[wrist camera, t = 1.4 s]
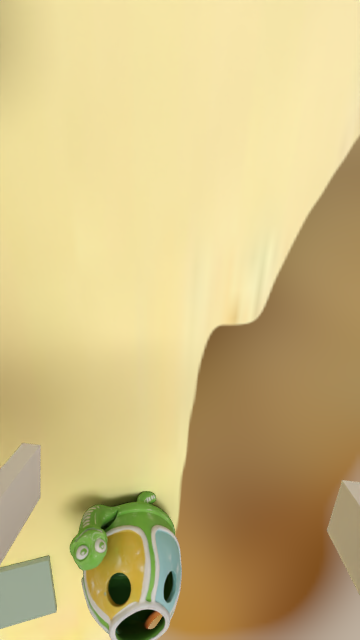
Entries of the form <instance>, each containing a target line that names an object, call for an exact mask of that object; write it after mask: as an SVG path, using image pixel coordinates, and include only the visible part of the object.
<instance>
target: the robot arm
mask: <svg viewBox="0 0 360 640" xmlns="http://www.w3.org/2000/svg"><path fill="white" fill-rule="evenodd" d="M39 499H40V445H36V444H27V443H22V444H21V445H20V447H19V448H18V449H17V450H16V451H15V452H14V454H13V455H12V456H11V457H10V458H9V459H8V461H7V462H6V463H5V464H4V465H3V466H2V467H1V469H0V564H1V562H2V561H3V559H4V557H5V556H6V554H7V552H8V551H9V549H10V547H11V546H12V544H13V542H14V541H15V539H16V537H17V536H18V534H19V532H20V531H21V529H22V527H23V526H24V524H25V522H26V521H27V519H28V517H29V516H30V514H31V512H32V510H33V509H34V507H35V505H36V504H37V502H38V500H39ZM327 532H328V534H329V536H330V538H331V539H332V542H333V544H334V545H335V547H336V549H337V551H338V553H339V555H340V557H341V559H342V561H343V563H344V565H345V567H346V569H347V571H348V573H349V575H350V577H351V579H352V581H353V583H354V585H355V587H356V589H357V591H358V593H359V595H360V482H352V481H342V483H341V486H340V489H339V493H338V496H337V499H336V503H335V506H334V509H333V512H332V515H331V519H330V522H329V525H328V529H327Z"/></svg>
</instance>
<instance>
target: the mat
mask: <svg viewBox="0 0 360 640" xmlns="http://www.w3.org/2000/svg"><path fill="white" fill-rule="evenodd" d="M56 610H57V605H56V598H55V591H54V584H53V577H52V570H51V563H50V556H46V557H42V558H38V559H34V560H30V561H26V562H22V563H18V564H13V565H9V566H5V567H1V568H0V629H2V628H5V627H8V626H12V625H15V624H18V623H22V622H25V621H28V620H32V619H35V618H38V617H42V616H45V615H48V614H52V613H55V612H56Z"/></svg>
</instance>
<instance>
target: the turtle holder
mask: <svg viewBox="0 0 360 640" xmlns="http://www.w3.org/2000/svg"><path fill="white" fill-rule="evenodd" d="M155 501H156V496H155V494H154V493H152V492H142V493H141V494H140V495H139V496H138V498H137V502H131V503H125V504H122V505H118V506H114V507H109V506H105V505H94V506H93V507H90V508H89V509H88V510H87V511H86V512H85V514H84V515H83V518H82V520H81V524H80V528H79V533H78V534H77V535H76V537H75V538H74V539H73V540H72V542H71V544H70V552H71V555H72V556H73V558H74V560H75V562H76V564H77V565H78V567H79V568H80V569H81V570H83V578H82V581H81V582H82V587H83V592H84V596H85V599H86V602H87V606H88V608H89V611H90V613H91V615H92V616H93V618H94V619H95V621H96V622H97V623H98V624H99V625H100V626H101V627H102V628H103V629H104V630H105V631H106V632H107V633H108V634H109V636H110V638H111V640H156V639H158V638H159V637H160V636H161V635H163V634H164V633H165V632H166V630H167V629H168V627H169V624H170V619H171V618H172V615H173V613H174V610H175V607H176V604H177V600H178V597H179V593H180V587H181V576H182V568H181V555H180V547H179V543H178V541H177V538H176V536H175V529H174V525H173V523H172V521H171V519H170V518H169V516H168V515H167V514H166V513H165V512H164V511H162V510H161V509H160V508H158V507H156V506H154V505H151V504H152V503H154V502H155ZM160 614H162V615H163V617H162V618H161V620H160V621H159V623H158V624H157V626H156V627H155V628H153V629H148V627H149V625H150V624H151V622H152V621H153V620H154V619H155V618H156V617H157V616H159V615H160Z"/></svg>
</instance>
